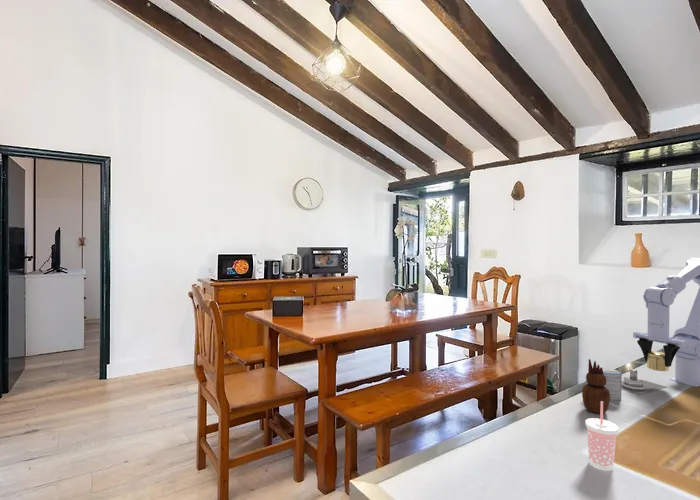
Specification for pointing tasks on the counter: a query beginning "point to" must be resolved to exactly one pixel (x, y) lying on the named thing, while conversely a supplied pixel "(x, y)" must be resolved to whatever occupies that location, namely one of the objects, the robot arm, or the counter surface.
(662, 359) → the cap
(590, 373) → the wooden figurine
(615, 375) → the medicine box
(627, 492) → the counter surface
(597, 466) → the beverage cup
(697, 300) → the robot arm
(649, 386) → the mat
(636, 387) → the stud post
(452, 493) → the counter surface
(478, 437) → the counter surface
